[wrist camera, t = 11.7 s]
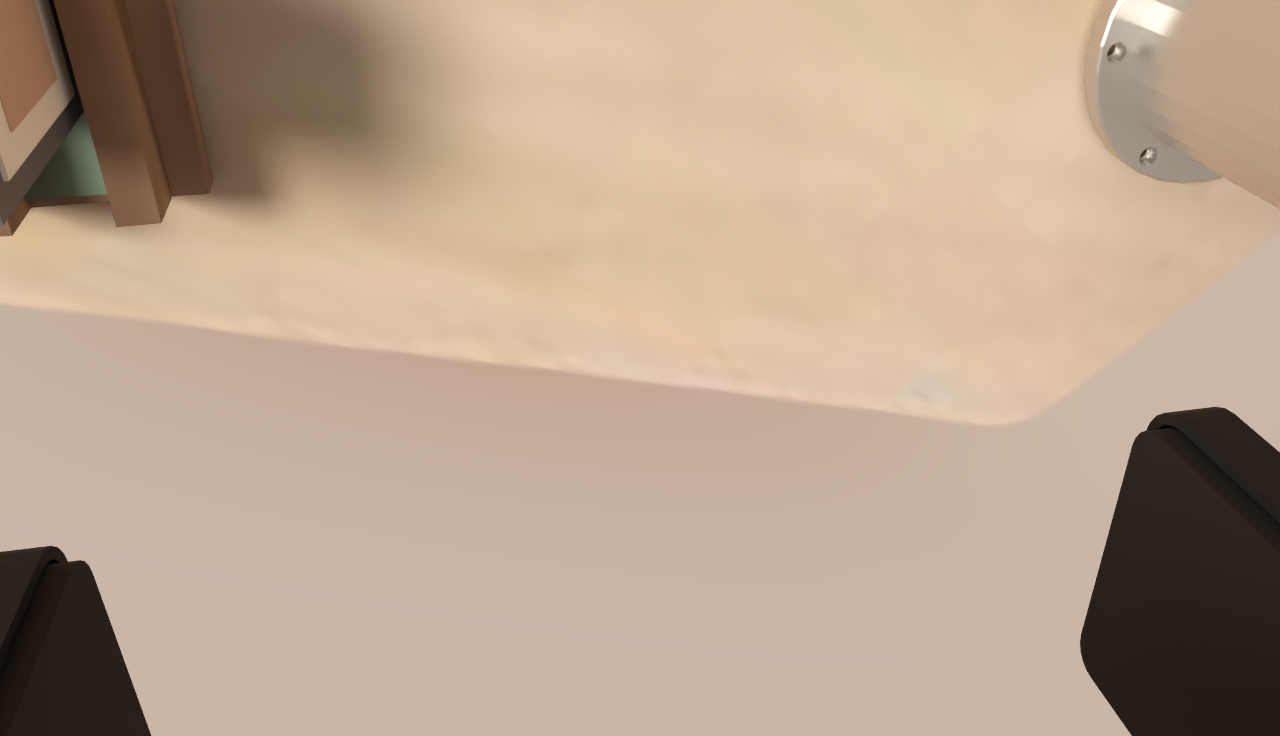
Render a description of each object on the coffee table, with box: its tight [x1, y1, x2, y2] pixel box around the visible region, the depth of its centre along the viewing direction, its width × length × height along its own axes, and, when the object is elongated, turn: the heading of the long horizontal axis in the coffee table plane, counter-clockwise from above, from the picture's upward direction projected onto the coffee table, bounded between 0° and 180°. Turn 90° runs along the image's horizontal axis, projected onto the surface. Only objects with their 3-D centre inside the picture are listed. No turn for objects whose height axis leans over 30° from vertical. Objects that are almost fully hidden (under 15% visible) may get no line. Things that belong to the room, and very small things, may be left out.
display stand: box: [0, 0, 213, 236], centre depth 36 cm, size 9×14×4 cm, turn 1°
